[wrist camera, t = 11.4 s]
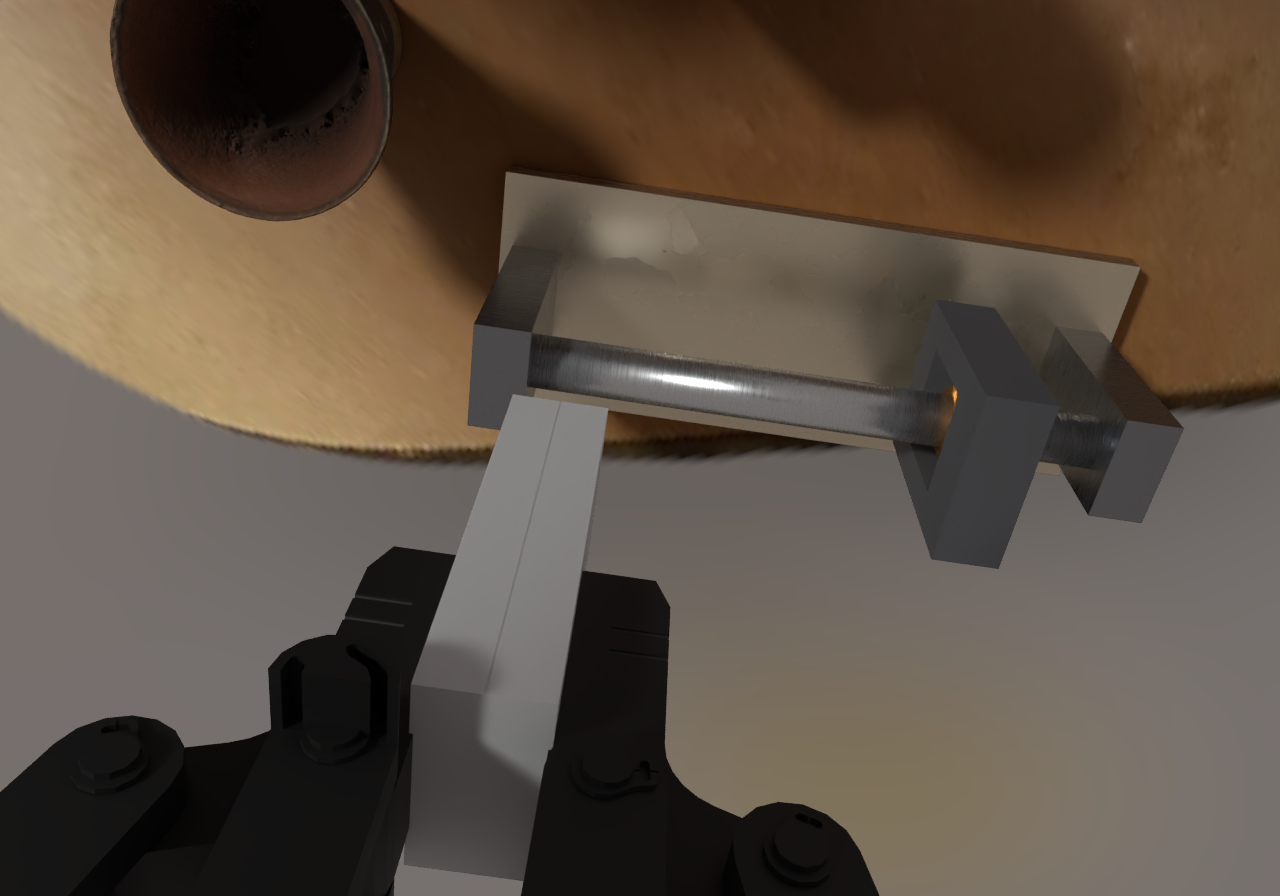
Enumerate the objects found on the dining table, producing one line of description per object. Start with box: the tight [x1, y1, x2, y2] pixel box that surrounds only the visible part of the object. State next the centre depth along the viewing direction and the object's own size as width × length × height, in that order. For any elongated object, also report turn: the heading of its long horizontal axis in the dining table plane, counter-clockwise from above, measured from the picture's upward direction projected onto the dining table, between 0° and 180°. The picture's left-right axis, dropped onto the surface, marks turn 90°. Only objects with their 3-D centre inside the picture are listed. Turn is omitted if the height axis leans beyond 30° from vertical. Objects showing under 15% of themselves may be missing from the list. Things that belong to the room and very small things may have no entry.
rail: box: [468, 166, 1184, 523], centre depth 41 cm, size 26×10×10 cm, turn 82°
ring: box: [893, 299, 1060, 569], centre depth 39 cm, size 2×6×8 cm, turn 172°
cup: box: [110, 0, 402, 221], centre depth 37 cm, size 9×9×10 cm
